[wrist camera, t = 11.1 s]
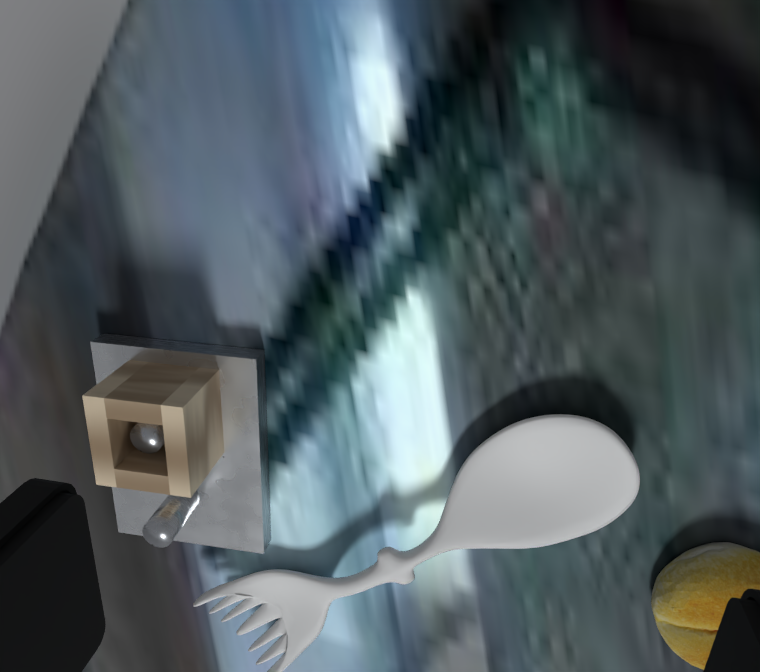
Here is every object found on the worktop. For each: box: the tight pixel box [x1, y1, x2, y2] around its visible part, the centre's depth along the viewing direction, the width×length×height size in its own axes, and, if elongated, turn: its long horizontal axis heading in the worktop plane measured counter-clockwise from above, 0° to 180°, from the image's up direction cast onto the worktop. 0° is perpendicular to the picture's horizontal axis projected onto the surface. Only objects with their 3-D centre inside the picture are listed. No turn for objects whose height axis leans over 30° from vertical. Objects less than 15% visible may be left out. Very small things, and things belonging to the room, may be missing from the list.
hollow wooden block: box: [83, 360, 224, 498], centre depth 38 cm, size 6×6×5 cm
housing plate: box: [90, 333, 271, 554], centre depth 41 cm, size 15×11×6 cm
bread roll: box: [651, 542, 760, 670], centre depth 39 cm, size 8×9×4 cm
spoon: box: [193, 414, 640, 672], centre depth 42 cm, size 9×32×3 cm, turn 126°
